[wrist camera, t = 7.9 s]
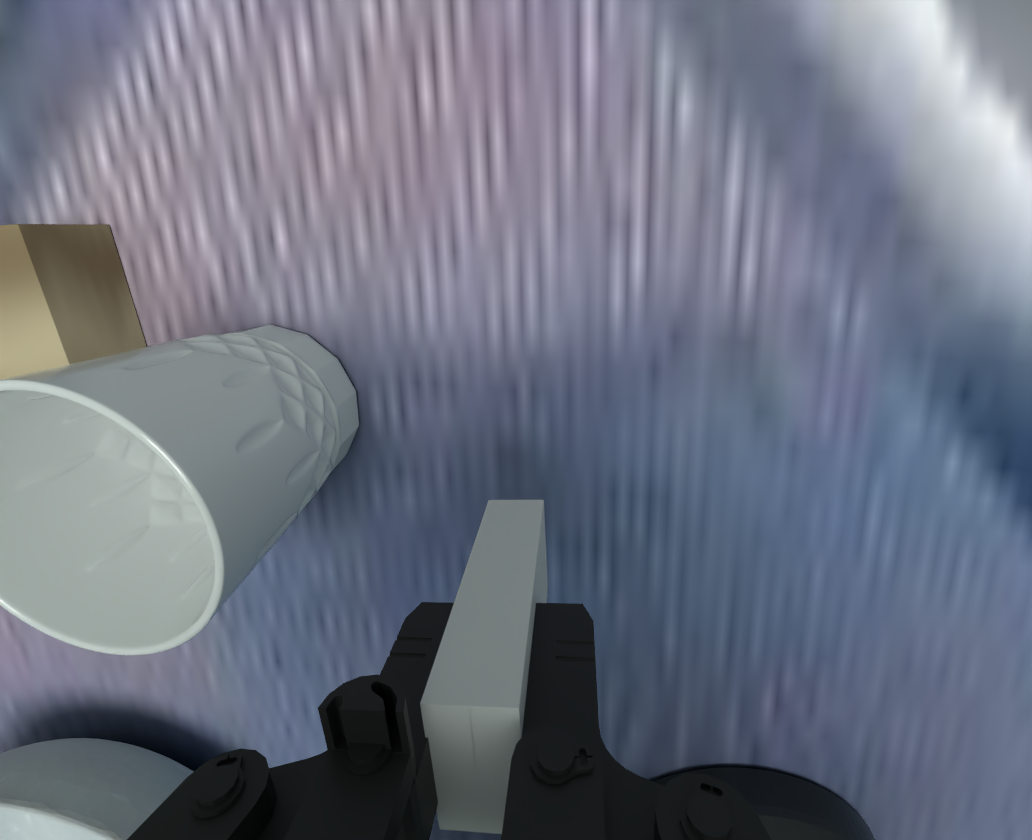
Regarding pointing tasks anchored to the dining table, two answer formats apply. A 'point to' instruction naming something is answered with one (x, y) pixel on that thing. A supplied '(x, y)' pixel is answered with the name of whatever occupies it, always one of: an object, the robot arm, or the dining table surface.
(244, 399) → the white cup
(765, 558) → the dining table surface
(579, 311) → the dining table surface
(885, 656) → the dining table surface
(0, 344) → the brass metal channel
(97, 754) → the serving bowl
